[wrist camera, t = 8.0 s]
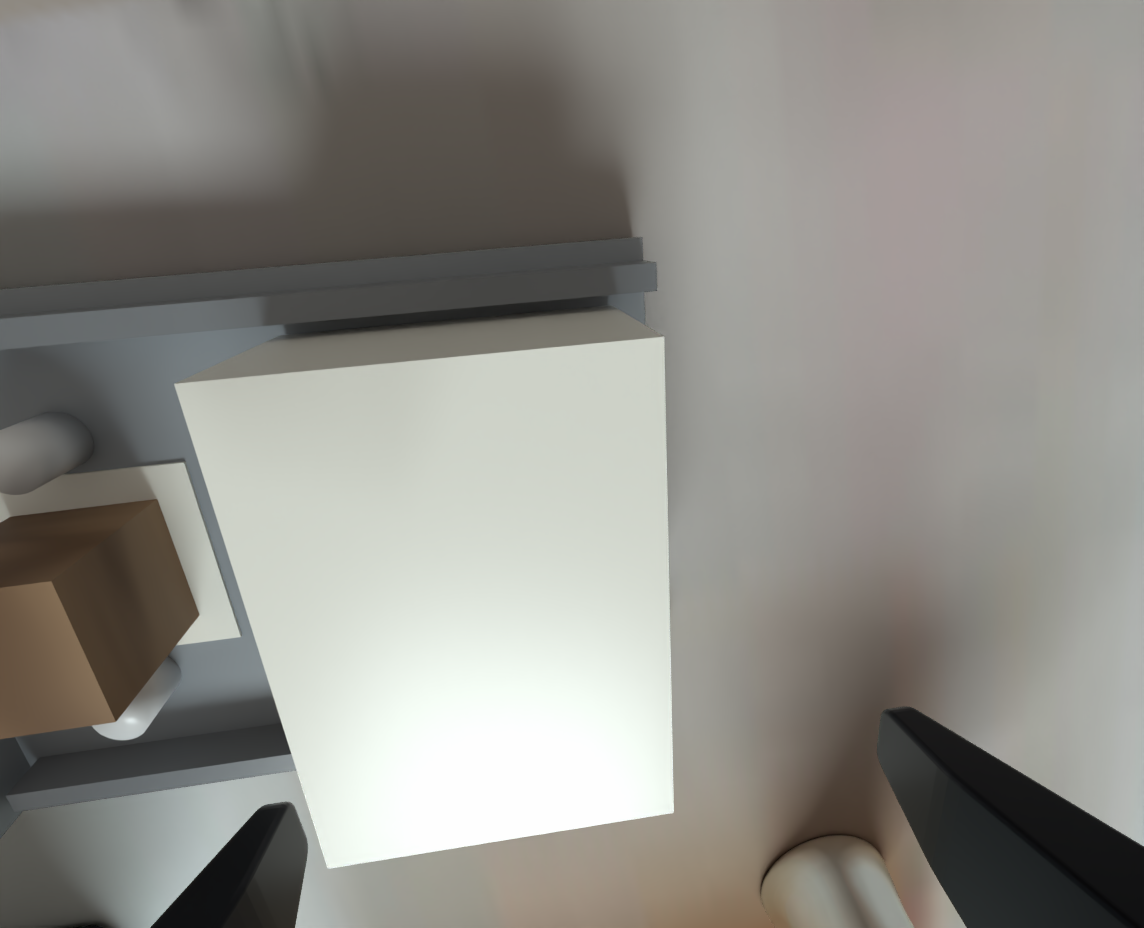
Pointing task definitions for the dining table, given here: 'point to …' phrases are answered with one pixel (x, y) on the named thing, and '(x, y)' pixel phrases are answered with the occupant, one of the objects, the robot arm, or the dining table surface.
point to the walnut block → (85, 613)
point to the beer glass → (832, 887)
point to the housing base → (173, 474)
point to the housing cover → (453, 570)
